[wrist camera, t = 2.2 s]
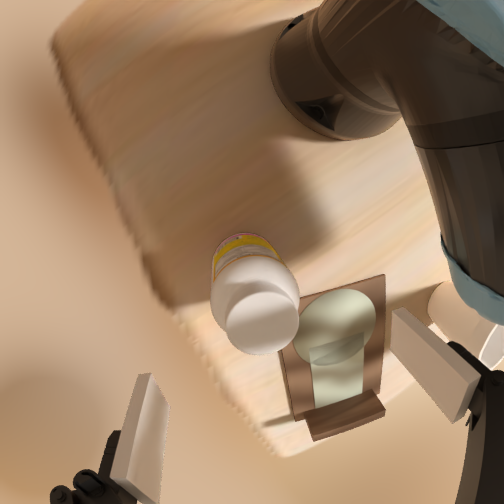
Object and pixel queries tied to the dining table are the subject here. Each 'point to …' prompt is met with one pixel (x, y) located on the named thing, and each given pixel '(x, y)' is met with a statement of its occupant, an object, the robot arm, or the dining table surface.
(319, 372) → the keyhole board
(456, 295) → the foam cup
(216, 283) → the supplement bottle
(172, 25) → the dining table surface
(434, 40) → the robot arm
